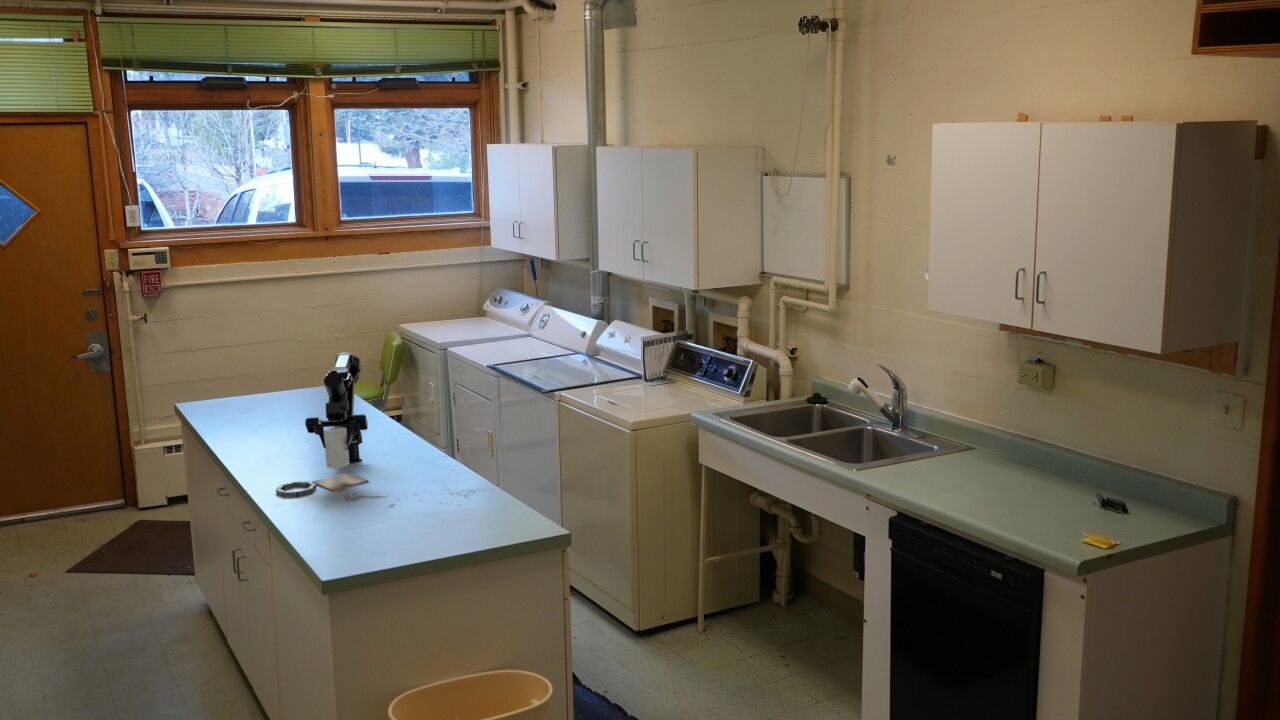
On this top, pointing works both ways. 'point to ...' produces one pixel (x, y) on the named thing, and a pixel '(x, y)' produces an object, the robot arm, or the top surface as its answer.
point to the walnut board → (339, 481)
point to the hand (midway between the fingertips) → (335, 446)
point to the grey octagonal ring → (309, 490)
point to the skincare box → (336, 447)
